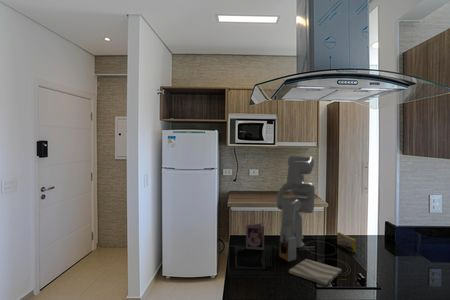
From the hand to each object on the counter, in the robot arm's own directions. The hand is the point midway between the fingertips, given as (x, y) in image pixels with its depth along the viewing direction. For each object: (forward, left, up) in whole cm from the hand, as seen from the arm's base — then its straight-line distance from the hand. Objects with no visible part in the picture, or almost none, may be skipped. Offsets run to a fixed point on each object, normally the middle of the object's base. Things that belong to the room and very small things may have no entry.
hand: (287, 250), depth 169 cm
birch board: (+7, +20, -4) cm, 22 cm away
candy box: (-41, +20, -5) cm, 46 cm away
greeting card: (-1, -24, -5) cm, 24 cm away
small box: (0, 0, -5) cm, 5 cm away
